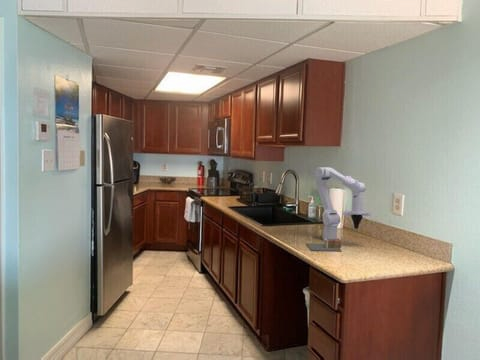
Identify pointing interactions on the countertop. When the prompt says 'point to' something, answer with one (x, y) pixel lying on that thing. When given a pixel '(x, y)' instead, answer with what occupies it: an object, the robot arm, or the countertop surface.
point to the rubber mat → (321, 247)
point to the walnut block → (332, 243)
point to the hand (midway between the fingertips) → (356, 228)
